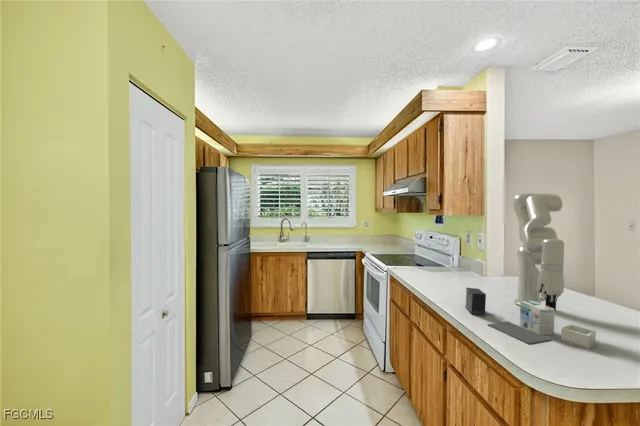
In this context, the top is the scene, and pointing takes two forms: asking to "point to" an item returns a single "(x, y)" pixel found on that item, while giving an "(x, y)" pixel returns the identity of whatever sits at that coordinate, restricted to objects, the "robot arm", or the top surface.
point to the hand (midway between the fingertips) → (550, 310)
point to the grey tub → (578, 336)
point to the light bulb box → (537, 317)
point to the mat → (519, 332)
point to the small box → (475, 301)
